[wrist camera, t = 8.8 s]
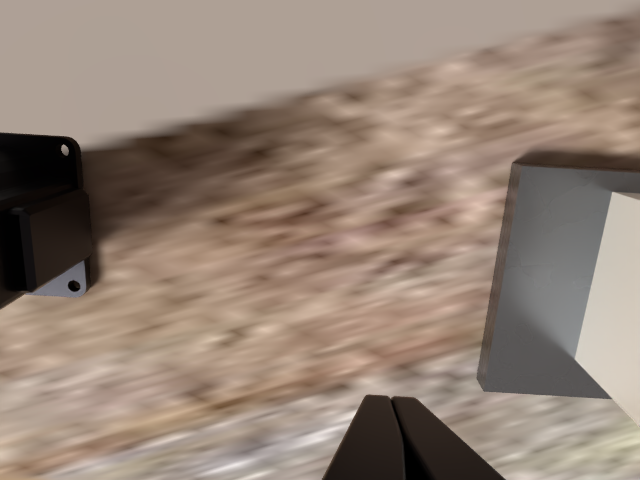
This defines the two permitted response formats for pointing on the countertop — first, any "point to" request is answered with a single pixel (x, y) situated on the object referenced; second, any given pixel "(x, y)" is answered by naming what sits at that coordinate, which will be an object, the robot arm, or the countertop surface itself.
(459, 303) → the countertop surface
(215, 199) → the countertop surface
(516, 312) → the plate
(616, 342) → the knob
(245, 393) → the countertop surface
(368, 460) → the robot arm
